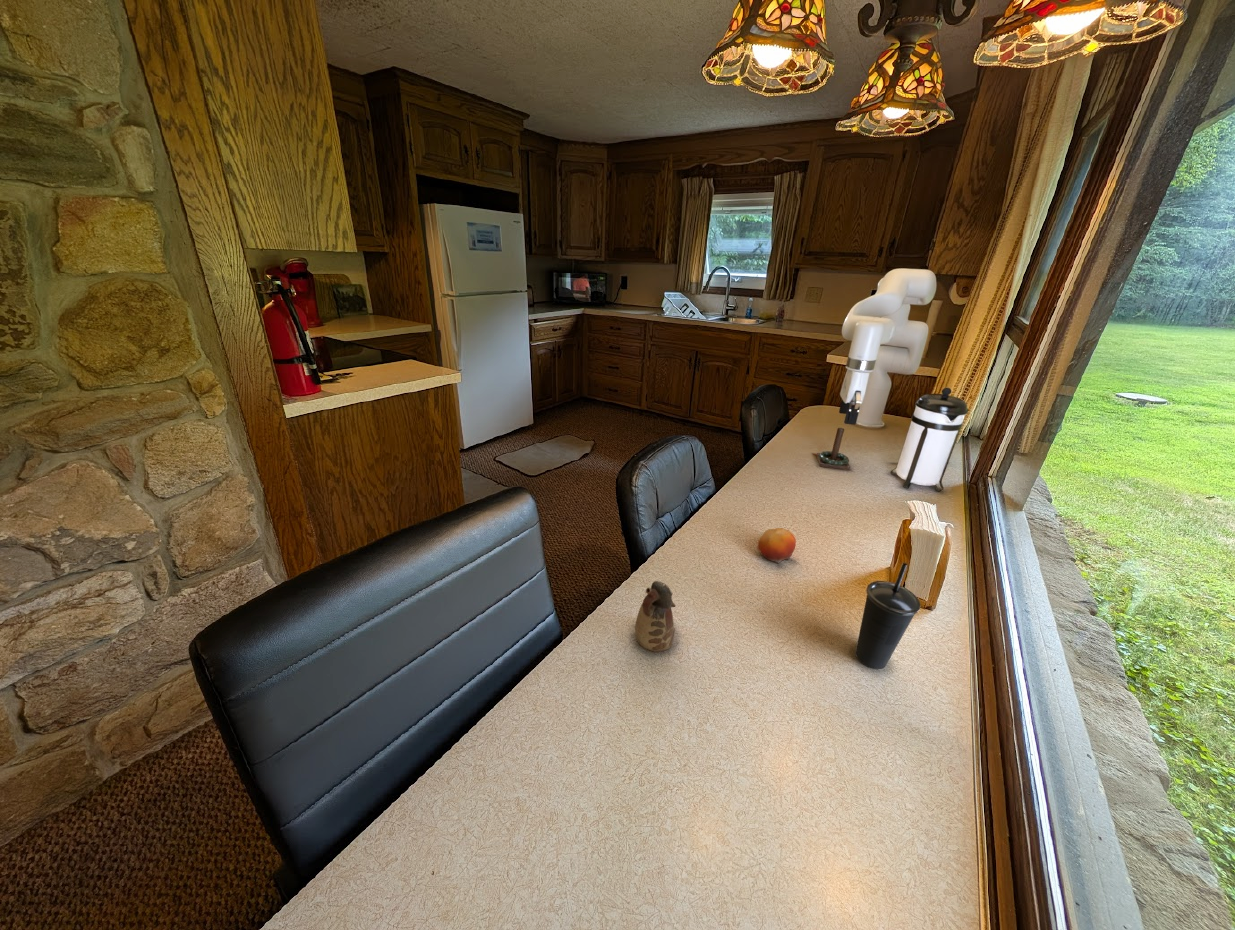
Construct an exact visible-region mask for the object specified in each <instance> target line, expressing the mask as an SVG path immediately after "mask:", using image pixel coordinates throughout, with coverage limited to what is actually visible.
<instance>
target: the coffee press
mask: <svg viewBox="0 0 1235 930" xmlns="http://www.w3.org/2000/svg"><path fill="white" fill-rule="evenodd" d="M951 394H952V389H951V388H950V387H944V388H943V389H942V390H941V393H927V394H923V395H922V396H920V397H919V399H916V401H915V409H914V412H913V413H912V415H911V418H910V419H911V420H910V422H909V426H908V429H907V432H906V435H905V438H904V441H903V445H902V449H901V451H900V454H899V457H898V461H897V464H896V467H895V468H894V469H892V470H890V471H889V472H890V474H891V475H892V476H895V475H897V476H898V477H899V478H900V479H902V480H903V481H904V482H903V485H902V488H904V489H907V490H908V489H909V488H910V487H911V485H912V484H914V485H919V486H924V487H925V486H926V487H927V486H928V487H930V486H932V487H934V489H935V490H936V491H937V492H939V493H940V492H942V491H943V490H944V488H945V487H944V484H943V478H944V475H945V473H946V471H947V467H948V465H949V462H950V459H951V456H952V454H953V452H954V448H955V446H956V443H957V441H958V439H959V438H958V437H959V435H960V432H961V429H962V427H963V425H964V419H965V416H966V415H968V413H969V411H970V410H969V408H968V403H966V401H965V400H964V399H962V398H960V397H958V396H954V395H951ZM894 470H895V472H894ZM938 484H939V487H940V489H939V487H938V486H937V485H938Z"/></svg>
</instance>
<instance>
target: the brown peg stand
mask: <svg viewBox="0 0 1235 930" xmlns="http://www.w3.org/2000/svg"><path fill="white" fill-rule="evenodd" d="M844 432H845V428H843V427H837V429H836V434H835V438H834V441H833V444H832V445H833V446H832V450H831V451H832V453H831V456H824V457H826V458H828V459H831V460H837V461H842V459H841V458H838V457H837V456H838V453H840V448H841V444H842V440H843V436H844ZM820 453H821V452H816V458H817V462H818V465H819V467H822V468H828V469H838V470H844V471H850V470H851V466H850V464H849V463H850V462H849V463H847V464H846V465H841V466H837V465H831V464H827V463H824V462H823V461H821V460H820V459H819V454H820Z"/></svg>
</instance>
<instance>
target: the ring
mask: <svg viewBox="0 0 1235 930" xmlns="http://www.w3.org/2000/svg"><path fill="white" fill-rule="evenodd" d="M819 453H820V454H819V459H820V460H821V461H823V462H824V463H827V464H831V465H837V466H841V465H846V464H847V463H850V459H849V457H848V456H847V455H846V454H844V453H841V452H838V456H837V457H838V458H841V459H842V461H837V460H831V459H828V458H826V457H824V456H831V453H832V450H824V451H822V452H819Z"/></svg>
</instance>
